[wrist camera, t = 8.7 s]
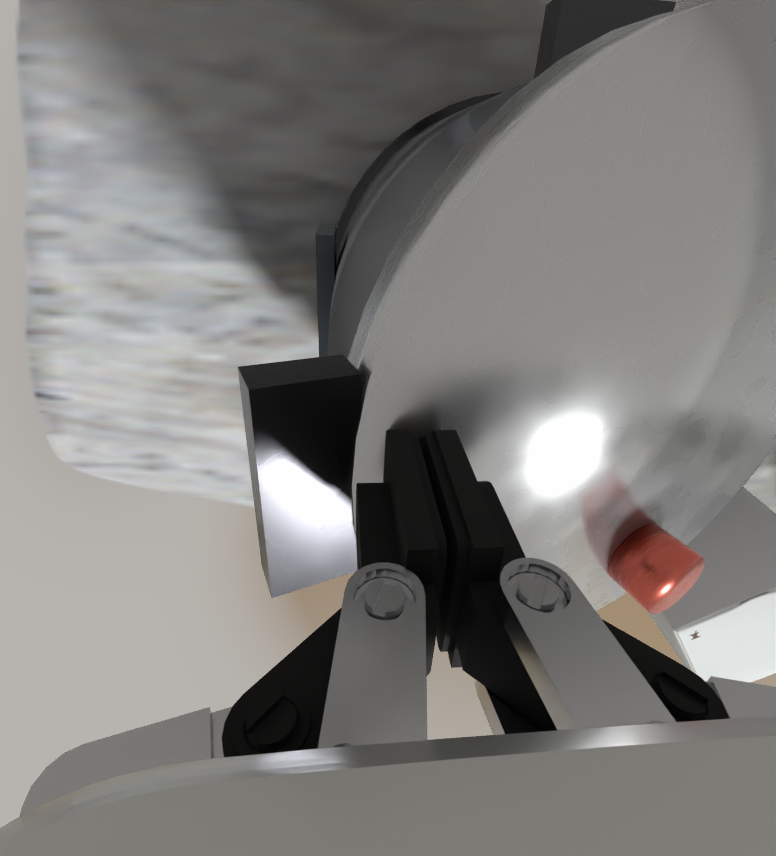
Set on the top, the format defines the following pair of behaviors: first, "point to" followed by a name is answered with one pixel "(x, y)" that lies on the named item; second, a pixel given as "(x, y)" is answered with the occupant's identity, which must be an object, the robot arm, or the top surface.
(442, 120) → the pressure cooker
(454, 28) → the top surface
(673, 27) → the lid
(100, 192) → the top surface
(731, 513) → the supplement box
